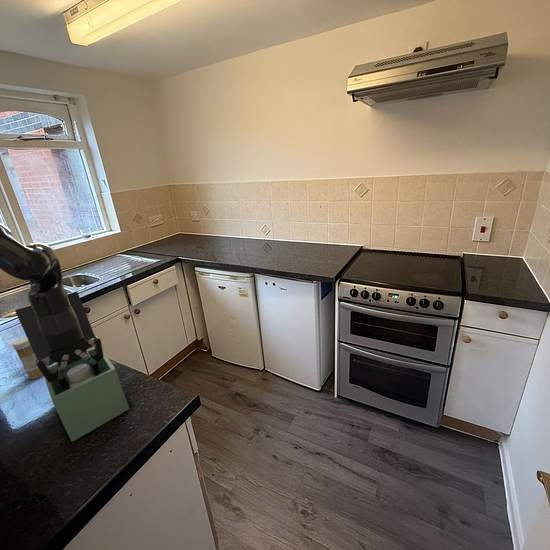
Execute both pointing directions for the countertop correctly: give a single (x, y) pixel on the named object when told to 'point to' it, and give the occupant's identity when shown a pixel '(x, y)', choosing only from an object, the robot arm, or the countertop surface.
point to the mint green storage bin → (88, 398)
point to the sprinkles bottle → (27, 357)
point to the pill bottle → (79, 375)
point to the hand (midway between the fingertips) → (82, 381)
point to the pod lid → (36, 337)
